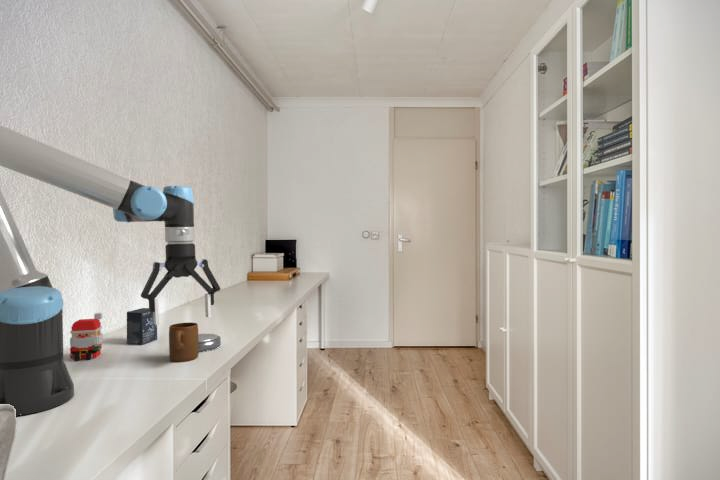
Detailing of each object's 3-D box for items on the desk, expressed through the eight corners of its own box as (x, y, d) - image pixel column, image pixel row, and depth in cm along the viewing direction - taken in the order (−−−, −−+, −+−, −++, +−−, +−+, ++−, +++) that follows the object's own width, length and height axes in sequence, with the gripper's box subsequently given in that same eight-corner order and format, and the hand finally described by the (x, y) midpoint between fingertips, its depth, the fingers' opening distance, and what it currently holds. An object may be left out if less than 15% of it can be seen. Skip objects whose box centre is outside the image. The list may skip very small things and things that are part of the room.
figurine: (65, 362, 121) (64, 318, 121) (74, 355, 128) (73, 314, 128) (99, 359, 123) (98, 316, 123) (107, 353, 130) (106, 312, 130)
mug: (192, 366, 115) (191, 330, 115) (161, 368, 114) (161, 331, 114) (201, 354, 127) (200, 321, 127) (173, 355, 126) (172, 322, 126)
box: (142, 345, 139) (141, 311, 138) (126, 344, 140) (125, 311, 140) (158, 339, 146) (157, 307, 146) (143, 339, 147) (142, 307, 147)
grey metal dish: (184, 354, 127) (184, 344, 127) (174, 346, 136) (174, 336, 136) (225, 348, 134) (225, 338, 133) (213, 340, 143) (213, 331, 143)
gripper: (131, 245, 110) (134, 329, 110) (229, 241, 124) (232, 316, 125) (127, 244, 116) (130, 324, 116) (221, 241, 130) (223, 312, 131)
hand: (183, 320), depth 121 cm, fingers open, 13 cm apart
